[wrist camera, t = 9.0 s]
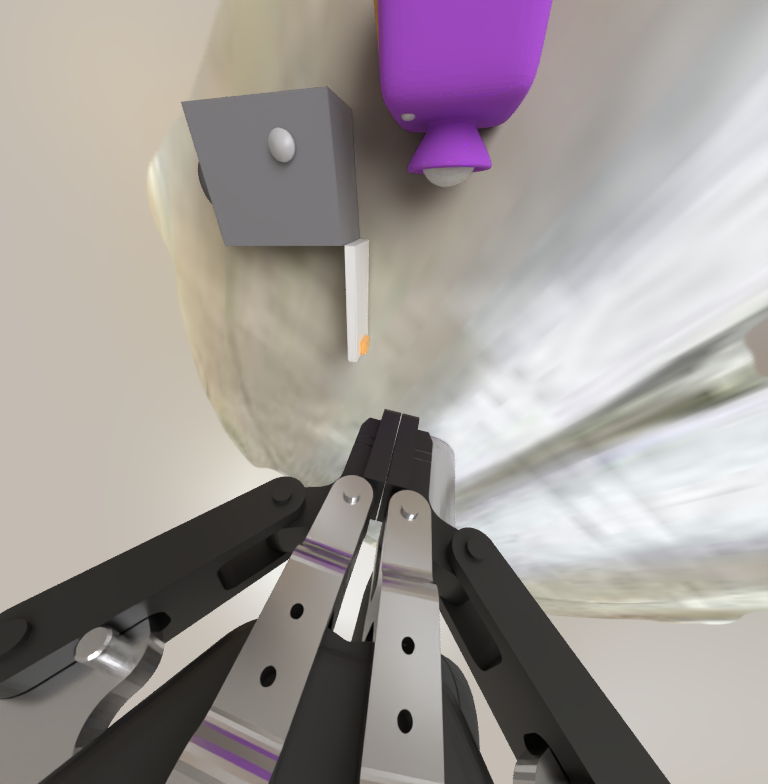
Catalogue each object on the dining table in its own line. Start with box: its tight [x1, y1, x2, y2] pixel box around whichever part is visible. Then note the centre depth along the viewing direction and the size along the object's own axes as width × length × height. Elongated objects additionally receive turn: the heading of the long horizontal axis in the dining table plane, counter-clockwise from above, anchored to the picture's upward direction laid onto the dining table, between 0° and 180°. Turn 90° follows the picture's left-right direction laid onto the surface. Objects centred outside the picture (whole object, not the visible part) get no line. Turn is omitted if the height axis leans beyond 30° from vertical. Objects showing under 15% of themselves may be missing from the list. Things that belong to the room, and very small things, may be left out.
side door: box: [345, 239, 369, 362], centre depth 31 cm, size 2×12×5 cm, turn 177°
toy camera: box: [374, 0, 552, 187], centre depth 18 cm, size 11×14×10 cm
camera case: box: [181, 86, 360, 246], centre depth 26 cm, size 10×13×7 cm
